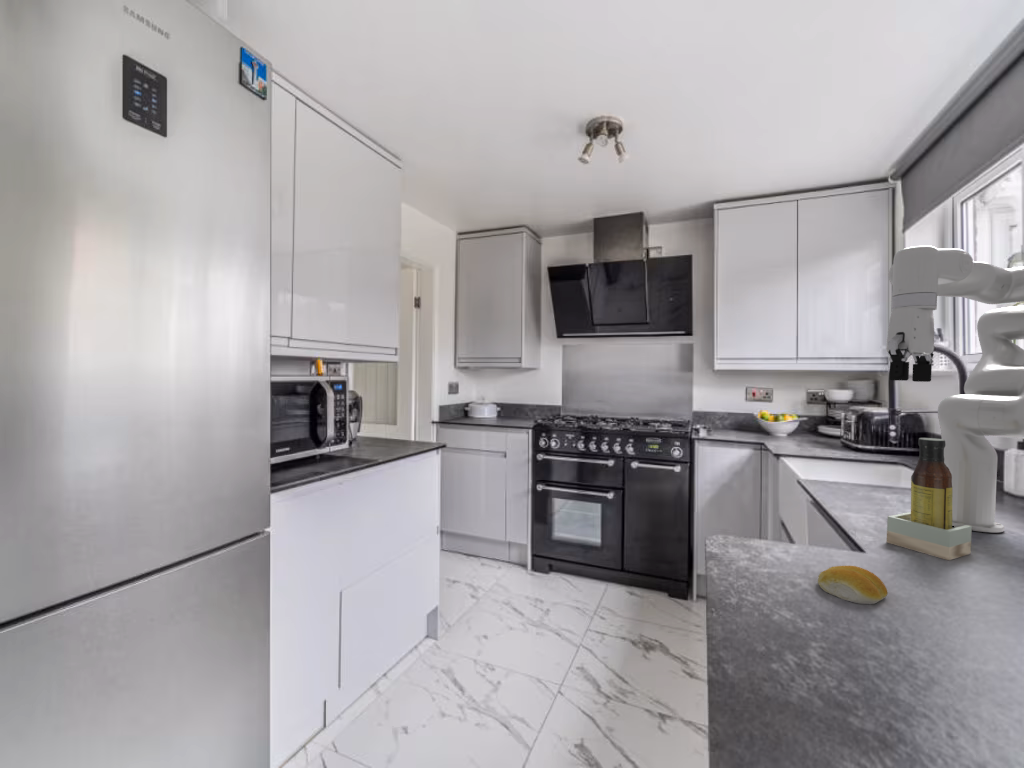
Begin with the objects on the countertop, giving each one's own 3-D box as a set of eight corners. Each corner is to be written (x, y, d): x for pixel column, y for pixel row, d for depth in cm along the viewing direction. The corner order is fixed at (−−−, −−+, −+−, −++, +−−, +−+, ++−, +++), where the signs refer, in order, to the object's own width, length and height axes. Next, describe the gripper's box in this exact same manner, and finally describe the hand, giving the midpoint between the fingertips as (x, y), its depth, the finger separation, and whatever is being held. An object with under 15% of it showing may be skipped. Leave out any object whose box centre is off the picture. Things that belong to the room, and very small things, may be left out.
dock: (908, 537, 98) (909, 512, 98) (970, 553, 89) (971, 526, 89) (886, 542, 94) (887, 516, 94) (948, 560, 85) (950, 531, 85)
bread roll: (893, 596, 70) (894, 571, 70) (871, 611, 65) (872, 584, 65) (832, 576, 77) (833, 553, 77) (808, 588, 72) (809, 563, 72)
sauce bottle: (934, 530, 95) (938, 437, 94) (960, 541, 88) (965, 441, 88) (900, 528, 95) (905, 436, 95) (924, 539, 89) (929, 440, 89)
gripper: (912, 309, 106) (909, 381, 107) (872, 302, 99) (869, 379, 99) (954, 305, 100) (951, 382, 100) (914, 297, 92) (911, 380, 92)
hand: (910, 380), depth 99 cm, fingers open, 9 cm apart
